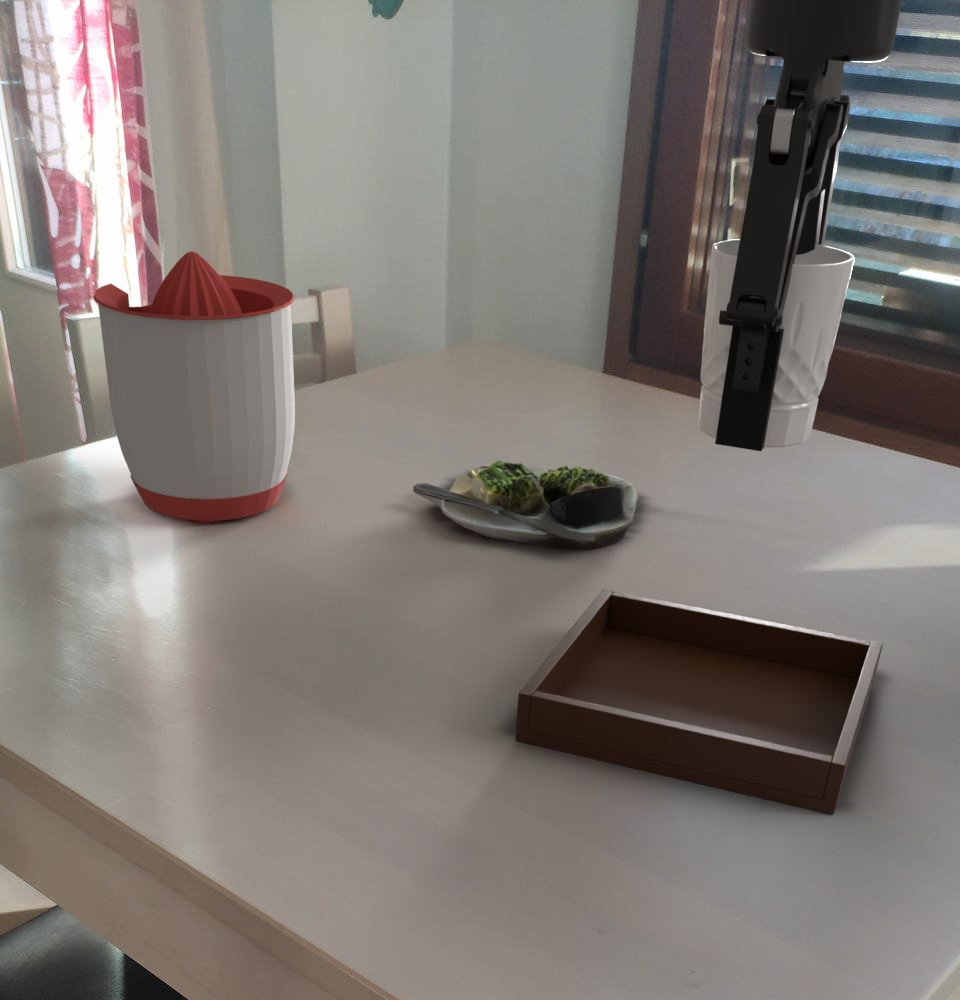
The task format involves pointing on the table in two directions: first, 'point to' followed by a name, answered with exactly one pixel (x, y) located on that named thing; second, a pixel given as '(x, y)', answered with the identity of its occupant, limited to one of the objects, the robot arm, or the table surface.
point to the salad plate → (539, 504)
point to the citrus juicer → (202, 391)
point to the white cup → (803, 344)
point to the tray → (704, 698)
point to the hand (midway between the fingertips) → (754, 427)
